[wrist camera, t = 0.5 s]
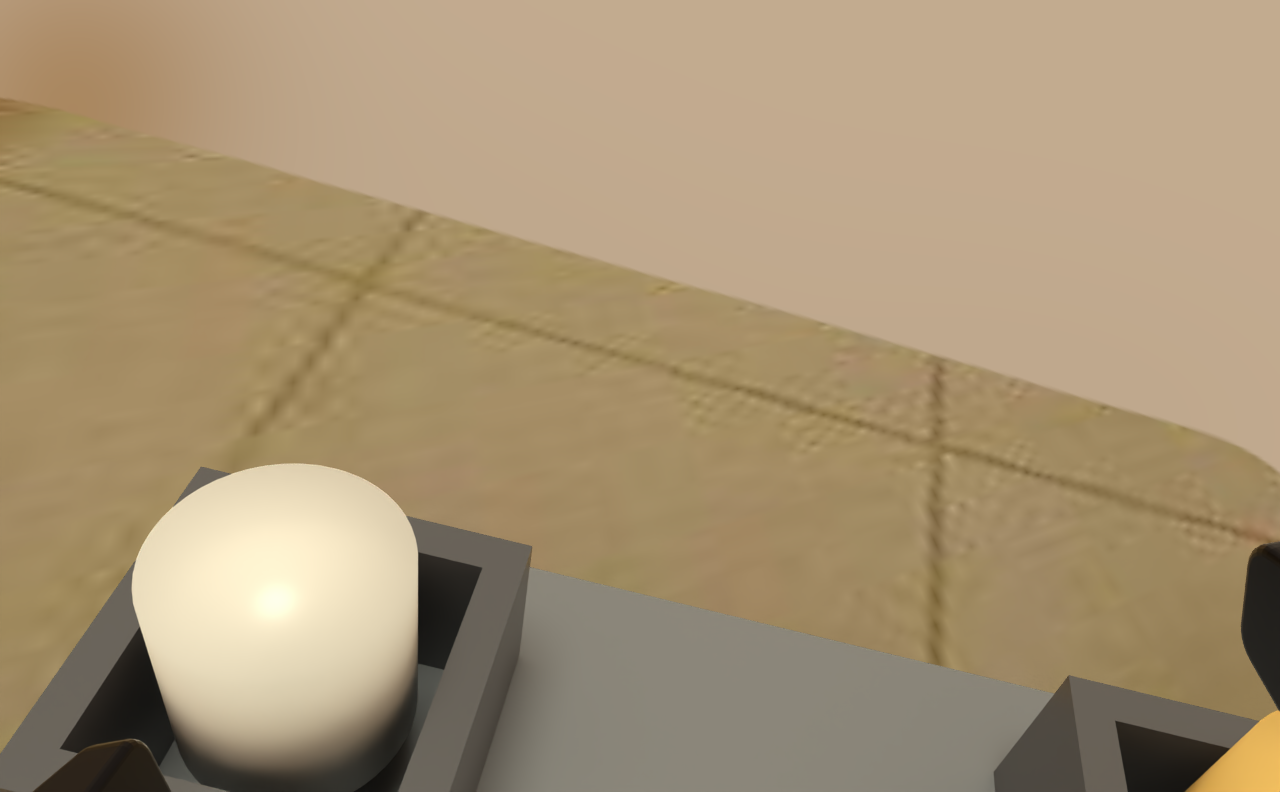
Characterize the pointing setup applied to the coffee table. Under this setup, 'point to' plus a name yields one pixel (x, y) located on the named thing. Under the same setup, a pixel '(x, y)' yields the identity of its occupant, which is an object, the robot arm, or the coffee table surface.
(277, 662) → the cream button
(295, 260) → the coffee table surface
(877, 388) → the coffee table surface
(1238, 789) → the amber button
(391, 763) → the button panel
